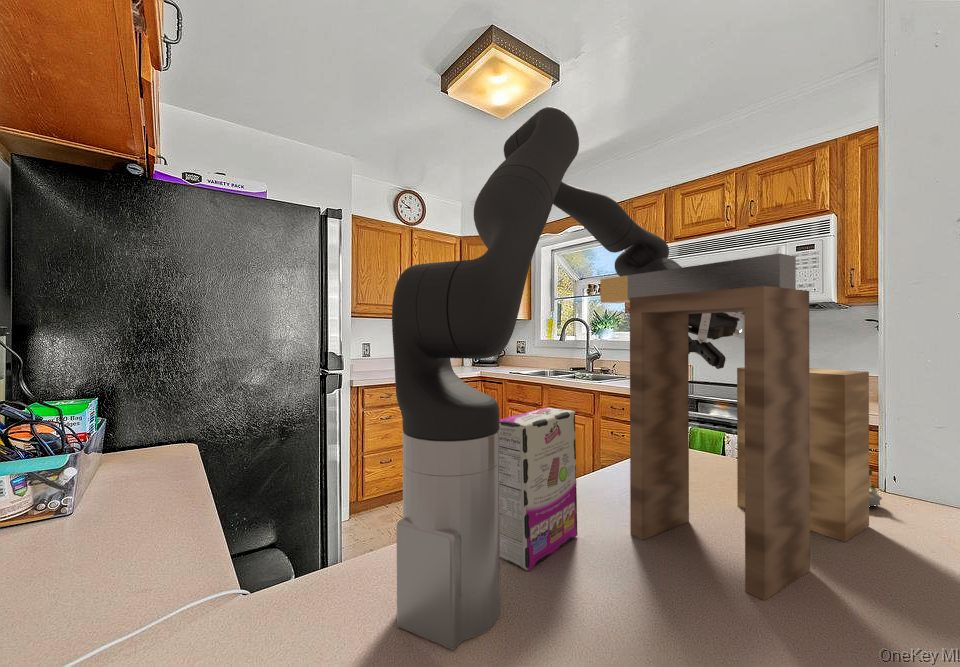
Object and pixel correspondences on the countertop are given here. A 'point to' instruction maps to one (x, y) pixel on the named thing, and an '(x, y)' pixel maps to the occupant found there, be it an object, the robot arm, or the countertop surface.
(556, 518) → the candy bar box
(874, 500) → the figurine
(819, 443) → the oak block
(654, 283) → the grey and wood bar
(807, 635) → the countertop surface
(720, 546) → the countertop surface
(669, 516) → the walnut bridge
